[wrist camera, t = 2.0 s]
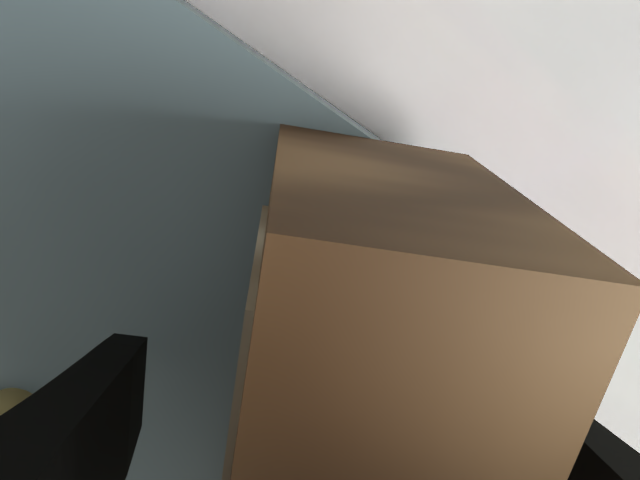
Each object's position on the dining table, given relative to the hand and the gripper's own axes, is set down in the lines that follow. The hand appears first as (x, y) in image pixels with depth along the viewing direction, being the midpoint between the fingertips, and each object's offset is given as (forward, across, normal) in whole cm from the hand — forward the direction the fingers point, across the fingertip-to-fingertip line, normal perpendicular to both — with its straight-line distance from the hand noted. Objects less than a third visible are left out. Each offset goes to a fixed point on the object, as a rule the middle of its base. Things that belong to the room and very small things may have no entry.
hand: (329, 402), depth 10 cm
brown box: (+1, 0, 0) cm, 1 cm away
